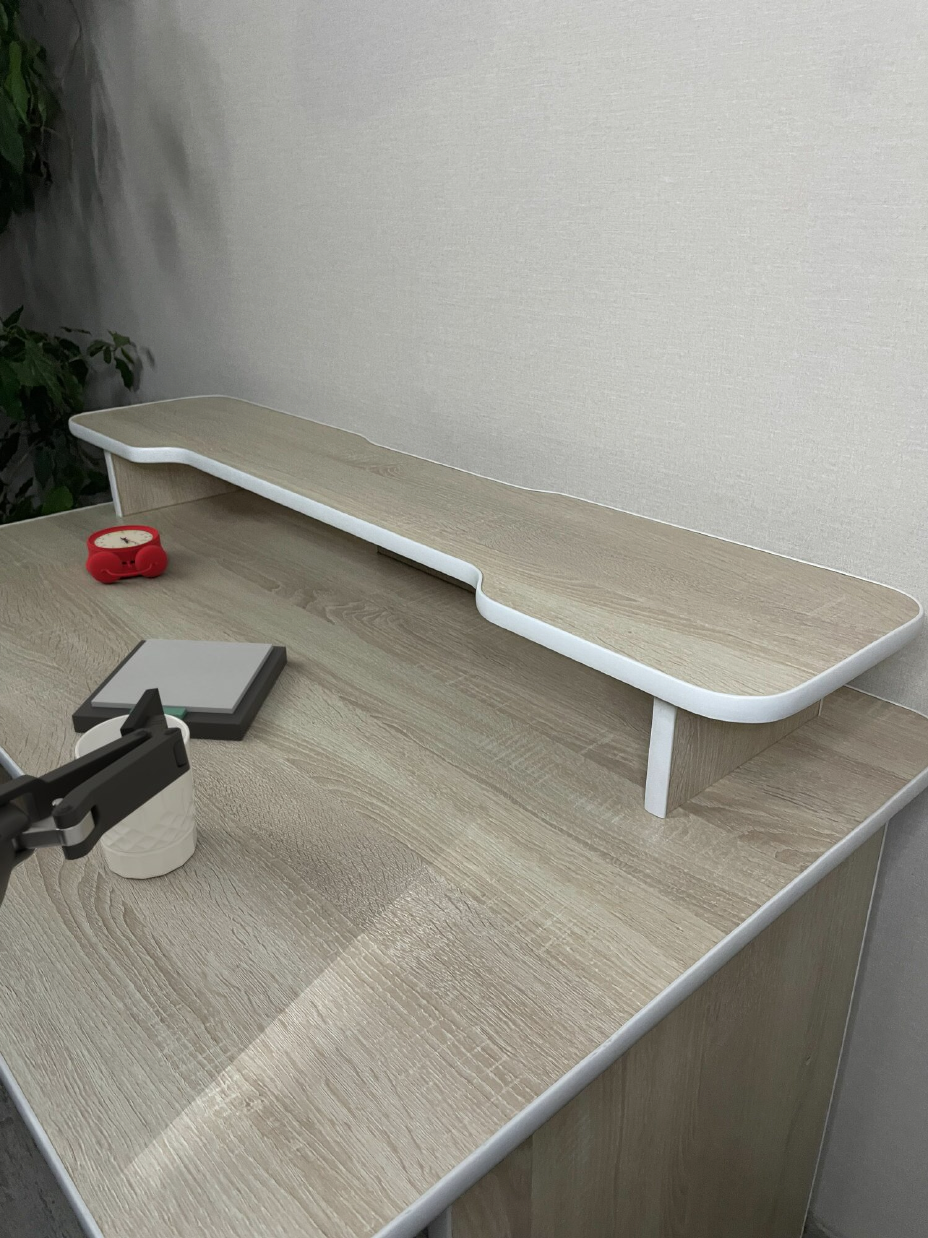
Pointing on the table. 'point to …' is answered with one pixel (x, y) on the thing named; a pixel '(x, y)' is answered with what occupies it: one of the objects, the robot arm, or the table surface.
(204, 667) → the scale
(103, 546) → the alarm clock
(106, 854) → the white cup
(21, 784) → the robot arm
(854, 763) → the table surface
